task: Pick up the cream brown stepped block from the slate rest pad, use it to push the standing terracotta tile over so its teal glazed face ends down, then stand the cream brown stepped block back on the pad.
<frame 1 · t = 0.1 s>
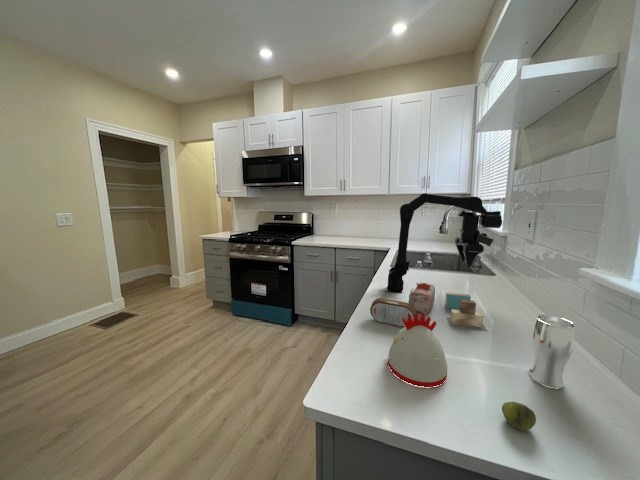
hand: (465, 263, 105), 15 cm above the worktop, tool pointing down, fingers open, 9 cm apart
food item: (421, 308, 97), on the worktop
cream brown stepped block: (465, 323, 84), resting on rest pad
rest pad: (465, 324, 84), on the worktop
beer glass: (545, 380, 59), on the worktop
lime: (517, 427, 47), on the worktop
kitchen timer: (416, 368, 63), on the worktop
tile: (456, 309, 96), on the worktop
tin: (391, 324, 84), on the worktop
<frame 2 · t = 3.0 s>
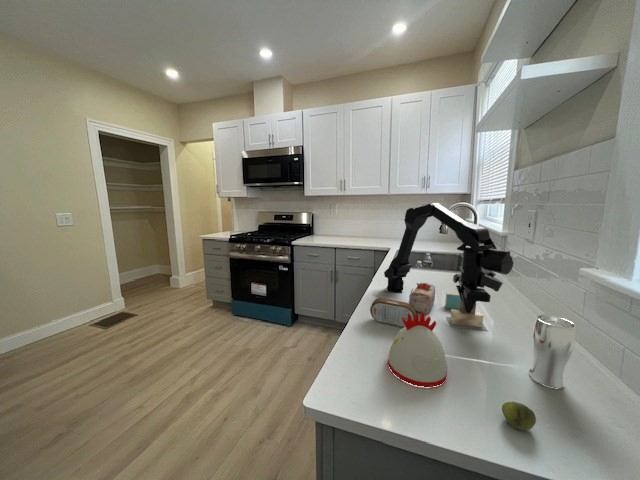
hand: (467, 310, 83), 5 cm above the worktop, tool pointing down, fingers closed on cream brown stepped block, 2 cm apart
cream brown stepped block: (465, 323, 84), resting on rest pad, touching gripper
everything else where it was.
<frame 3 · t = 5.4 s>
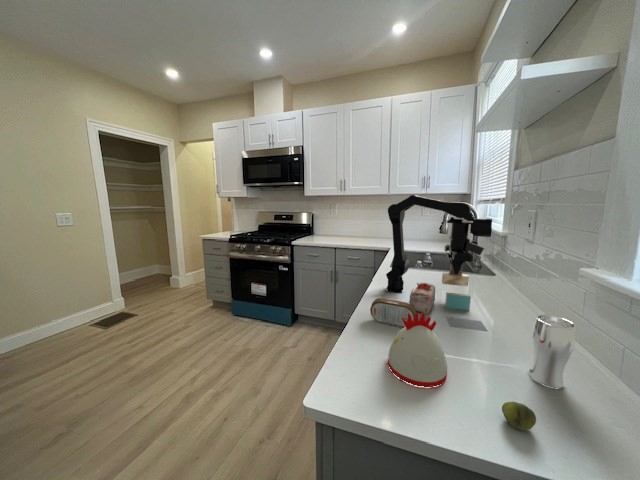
hand: (455, 273, 100), 12 cm above the worktop, tool pointing down, fingers closed on cream brown stepped block, 2 cm apart
cream brown stepped block: (454, 284, 101), point 8 cm above the worktop, touching gripper
everything else where it was.
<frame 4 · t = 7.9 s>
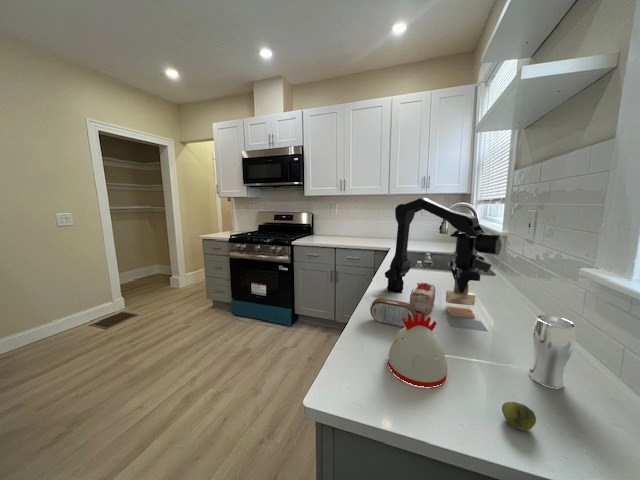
hand: (460, 291, 92), 8 cm above the worktop, tool pointing down, fingers closed on cream brown stepped block, 2 cm apart
cream brown stepped block: (459, 302, 93), point 3 cm above the worktop, touching gripper
tile: (457, 309, 94), point 1 cm above the worktop, tilted 90°
everything else where it was.
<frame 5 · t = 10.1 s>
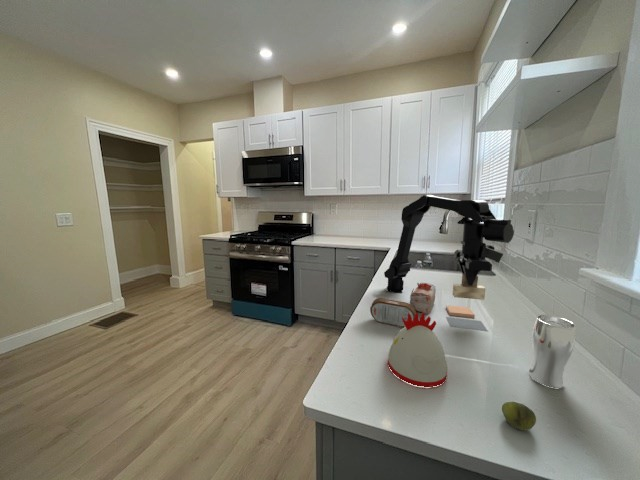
hand: (468, 284, 84), 14 cm above the worktop, tool pointing down, fingers closed on cream brown stepped block, 2 cm apart
cream brown stepped block: (467, 297, 85), point 9 cm above the worktop, touching gripper
everything else where it was.
when the fingers open (6 cm above the worktop, at t = 12.1 s): cream brown stepped block stays where it is, resting on rest pad.
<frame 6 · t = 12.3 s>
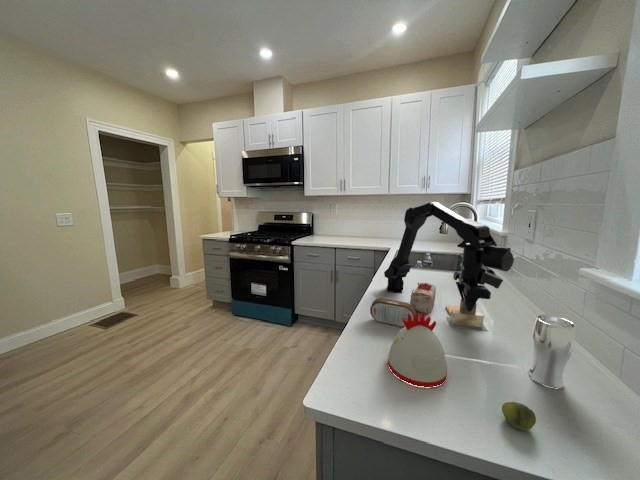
hand: (467, 308, 83), 6 cm above the worktop, tool pointing down, fingers open, 4 cm apart
cream brown stepped block: (466, 323, 84), resting on rest pad
everything else where it was.
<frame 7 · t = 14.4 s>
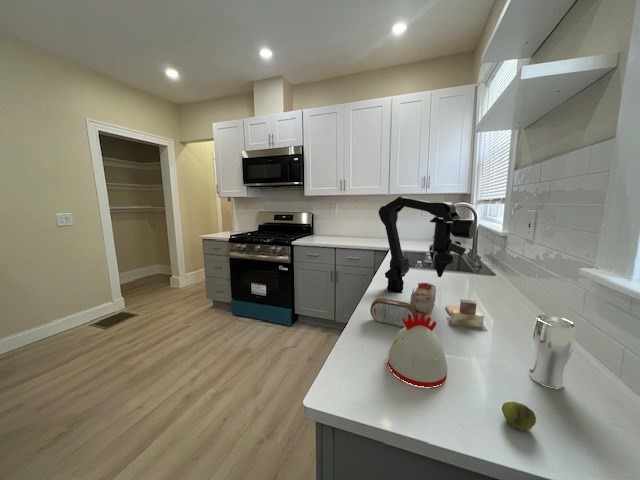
hand: (437, 273, 99), 13 cm above the worktop, tool pointing down, fingers open, 9 cm apart
nothing on the worktop moved.
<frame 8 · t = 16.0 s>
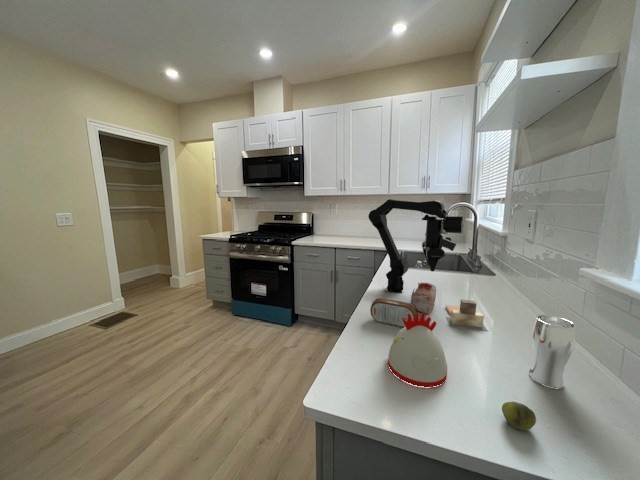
hand: (430, 268, 104), 13 cm above the worktop, tool pointing down, fingers open, 9 cm apart
nothing on the worktop moved.
at the end: tile tilted 90°; cream brown stepped block inside the target area (0.1 cm from its centre), resting on rest pad; cream brown stepped block tilted 0° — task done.
